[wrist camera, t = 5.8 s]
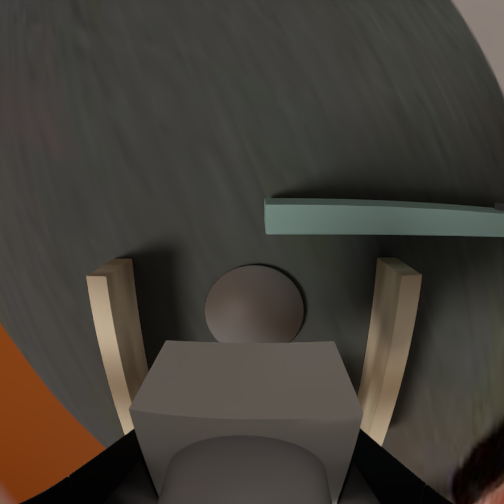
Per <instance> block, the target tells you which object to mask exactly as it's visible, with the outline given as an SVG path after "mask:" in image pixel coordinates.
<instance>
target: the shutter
mask: <svg viewBox="0 0 504 504" xmlns="http://www.w3.org/2000/svg"><path fill="white" fill-rule="evenodd" d="M264 206H265V230H266V234H366V235H440V236H484V237H504V204H503V203H495V207H494V208H490V207H479V206H467V205H454V204H440V203H424V202H407V201H386V200H360V199H319V198H264Z"/></svg>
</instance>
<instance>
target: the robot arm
mask: <svg viewBox="0 0 504 504" xmlns="http://www.w3.org/2000/svg"><path fill="white" fill-rule="evenodd" d="M425 485H426V483H425V482H423V481H422V480H421V479H420V478H418V477H417V476H416V475H415V474H414V473H412V472H411V471H410V470H409V469H408V468H406V467H405V466H404V465H403V464H401V463H400V462H399V461H398V460H397V459H396V458H394V457H393V456H392V455H391V454H390V453H388V452H387V451H386V450H385V449H384V448H383V447H381V446H380V445H379V444H378V443H377V442H376V441H374V440H373V439H372V438H371V437H370V436H369V435H368V434H366V433H365V432H364V431H363V430H362V429H361V428H360V430H359V433H358V437H357V441H356V444H355V448H354V451H353V455H352V458H351V461H350V464H349V468H348V471H347V474H346V477H345V480H344V483H343V486H342V489H341V492H340V495H339V498H338V500H337V504H453V503H452V502H450V501H448V500H447V499H446V498H444V497H443V496H442V495H440V494H439V493H437V492H436V491H435V490H434V489H432V488H431V487H430V486H429V485H426V486H425ZM158 500H159V496H158V493H157V491H156V488H155V486H154V483H153V481H152V478H151V475H150V473H149V470H148V467H147V465H146V462H145V459H144V456H143V453H142V451H141V448H140V445H139V442H138V439H137V435H136V432H135V429H133V430H131V431H130V432H129V433H127V434H126V435H125V436H123V437H122V438H121V439H119V440H118V441H116V442H115V443H114V444H112V445H111V446H110V447H108V448H107V449H106V450H104V451H103V452H101V453H100V454H99V455H97V456H96V457H94V458H93V459H92V460H90V461H89V462H87V463H86V464H85V465H83V466H82V467H80V468H79V469H77V470H76V471H75V472H73V473H72V474H70V475H69V477H66V478H64V479H63V480H61V481H60V482H59V483H57V484H55V485H54V486H52V487H50V488H49V489H47V490H45V491H44V492H42V493H40V494H38V495H36V496H34V497H32V498H30V499H28V500H26V501H24V502H22V503H19V504H157V503H158Z"/></svg>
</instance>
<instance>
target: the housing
mask: <svg viewBox="0 0 504 504" xmlns="http://www.w3.org/2000/svg"><path fill="white" fill-rule="evenodd" d="M86 277H87V284H88V290H89V296H90V302H91V308H92V313H93V318H94V323H95V328H96V333H97V338H98V342H99V347H100V351H101V355H102V359H103V363H104V367H105V371H106V375H107V378H108V382H109V386H110V389H111V393H112V396H113V400H114V403H115V406H116V409H117V412H118V416H119V419H120V422H121V425H122V428H123V431H124V433H125V435H126V434H127V433H129V432H130V431H131V430H133V429H134V426H133V423H132V419H131V416H130V413H129V408H130V406H131V404H132V402H133V400H134V398H135V396H136V395H137V393H138V391H139V389H140V387H141V385H142V383H143V382H144V380H145V378H146V376H147V374H148V366H147V361H146V356H145V350H144V344H143V338H142V332H141V326H140V319H139V312H138V305H137V298H136V290H135V281H134V273H133V263H132V259H113V260H111V261H110V262H108V263H106V264H105V265H103V266H102V267H100V268H98V269H97V270H95V271H93V272H92V273H90V274H89V275H87V276H86ZM421 280H422V274H420V273H419V272H417V271H415V270H414V269H412V268H411V267H409V266H408V265H406V264H405V263H403V262H402V261H400V260H399V259H397V258H396V257H386V258H377V267H376V278H375V287H374V296H373V305H372V313H371V321H370V328H369V335H368V341H367V348H366V354H365V360H364V365H363V371H362V376H361V381H360V387H359V392H358V396H357V398H358V400H359V403H360V405H361V408H362V410H363V413H364V414H363V418H362V422H361V426H360V428H361V429H362V430H363V431H364V432H365V433H366V434H368V435H369V436H370V437H371V438H372V439H373V440H374V441H376V442H377V443H378V444H379V445H380V446H382V444H383V441H384V438H385V435H386V432H387V429H388V426H389V423H390V420H391V416H392V413H393V410H394V407H395V403H396V400H397V396H398V393H399V389H400V385H401V382H402V378H403V374H404V370H405V366H406V361H407V357H408V353H409V348H410V344H411V339H412V334H413V329H414V324H415V318H416V313H417V307H418V301H419V294H420V288H421ZM303 315H304V307H303V301H302V298H301V295H300V293H299V291H298V289H297V287H296V286H295V284H294V283H293V282H292V281H291V280H290V279H289V278H288V277H287V276H286V275H285V274H283V273H282V272H280V271H278V270H276V269H274V268H271V267H268V266H263V265H245V266H240V267H237V268H234V269H232V270H230V271H228V272H227V273H225V274H224V275H222V276H221V277H220V278H219V279H218V280H217V281H216V282H215V283H214V285H213V286H212V288H211V289H210V292H209V294H208V296H207V299H206V304H205V317H206V321H207V325H208V327H209V329H210V331H211V333H212V334H213V336H214V337H215V338H216V339H217V340H218V341H219V342H220V343H289V342H291V341H292V340H293V338H294V337H295V336H296V334H297V333H298V331H299V329H300V327H301V324H302V321H303Z"/></svg>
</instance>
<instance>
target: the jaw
mask: <svg viewBox="0 0 504 504" xmlns="http://www.w3.org/2000/svg"><path fill="white" fill-rule="evenodd" d="M129 413H130V416H131V419H132V423H133V426H134V429H135V432H136V435H137V439H138V442H139V445H140V448H141V451H142V453H143V456H144V459H145V462H146V465H147V467H148V470H149V473H150V475H151V478H152V481H153V483H154V486H155V488H156V491H157V493H158V496H159V500H158V503H157V504H336V503H337V500H338V498H339V495H340V492H341V489H342V486H343V483H344V480H345V477H346V474H347V471H348V468H349V464H350V461H351V458H352V455H353V451H354V448H355V444H356V441H357V437H358V433H359V430H360V426H361V422H362V418H363V414H364V413H363V410H362V408H361V405H360V403H359V400H358V398H357V395H356V393H355V390H354V388H353V385H352V383H351V381H350V378H349V376H348V373H347V371H346V368H345V366H344V364H343V361H342V359H341V356H340V354H339V352H338V349H337V347H336V345H335V342H334V341H327V342H299V343H217V342H188V341H169V340H166V341H165V343H164V345H163V347H162V349H161V350H160V352H159V354H158V356H157V358H156V360H155V361H154V363H153V365H152V367H151V369H150V370H149V372H148V374H147V376H146V378H145V380H144V382H143V383H142V385H141V387H140V389H139V391H138V393H137V395H136V396H135V398H134V400H133V402H132V404H131V406H130V408H129Z"/></svg>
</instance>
